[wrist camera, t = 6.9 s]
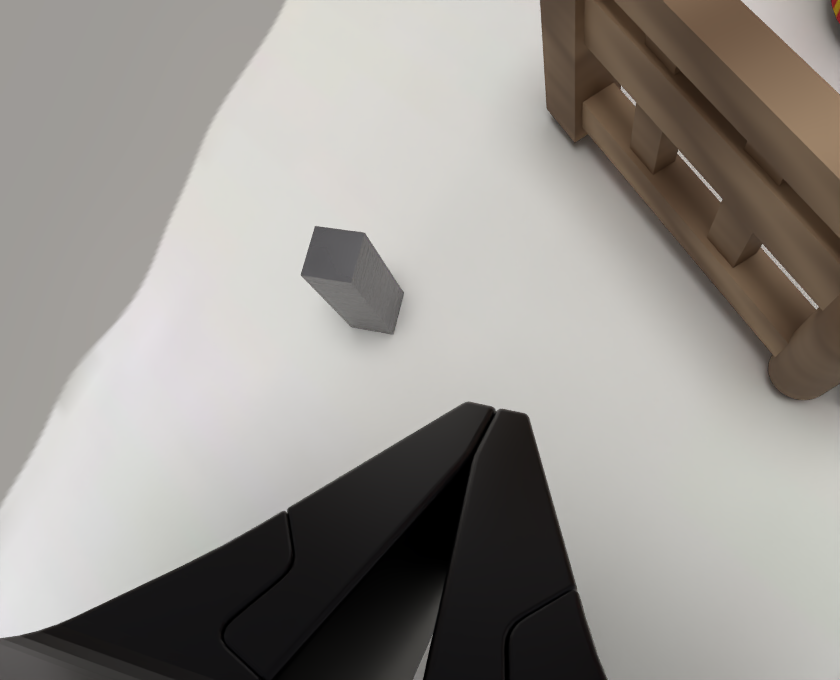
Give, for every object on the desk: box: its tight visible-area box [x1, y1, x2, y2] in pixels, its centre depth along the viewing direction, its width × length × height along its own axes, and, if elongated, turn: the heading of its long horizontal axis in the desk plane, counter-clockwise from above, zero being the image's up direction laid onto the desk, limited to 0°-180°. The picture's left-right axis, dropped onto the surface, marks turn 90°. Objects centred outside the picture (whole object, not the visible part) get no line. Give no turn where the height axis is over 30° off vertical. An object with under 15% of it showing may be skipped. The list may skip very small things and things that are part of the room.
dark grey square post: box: [301, 226, 404, 334], centre depth 19 cm, size 2×17×9 cm, turn 76°
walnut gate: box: [540, 0, 840, 400], centre depth 19 cm, size 13×2×9 cm, turn 30°
